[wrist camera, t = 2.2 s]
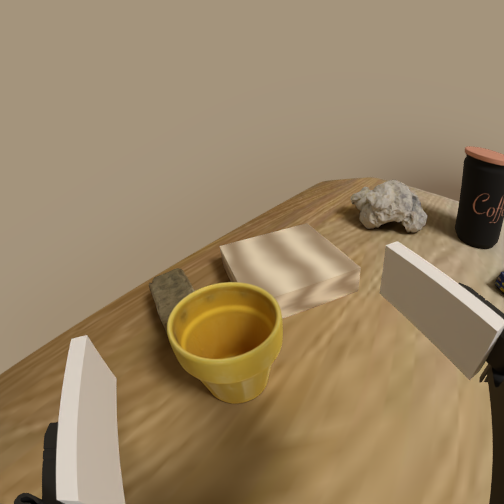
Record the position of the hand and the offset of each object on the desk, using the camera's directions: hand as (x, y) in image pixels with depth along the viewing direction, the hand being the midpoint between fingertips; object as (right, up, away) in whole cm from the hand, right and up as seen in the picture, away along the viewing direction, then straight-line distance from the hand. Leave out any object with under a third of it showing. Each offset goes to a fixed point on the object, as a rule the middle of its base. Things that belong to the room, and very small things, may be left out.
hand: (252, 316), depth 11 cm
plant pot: (-1, -11, +19) cm, 22 cm away
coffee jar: (+46, +5, +36) cm, 59 cm away
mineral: (+28, +8, +45) cm, 54 cm away
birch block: (+5, -1, +34) cm, 34 cm away
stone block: (-10, -7, +29) cm, 31 cm away
